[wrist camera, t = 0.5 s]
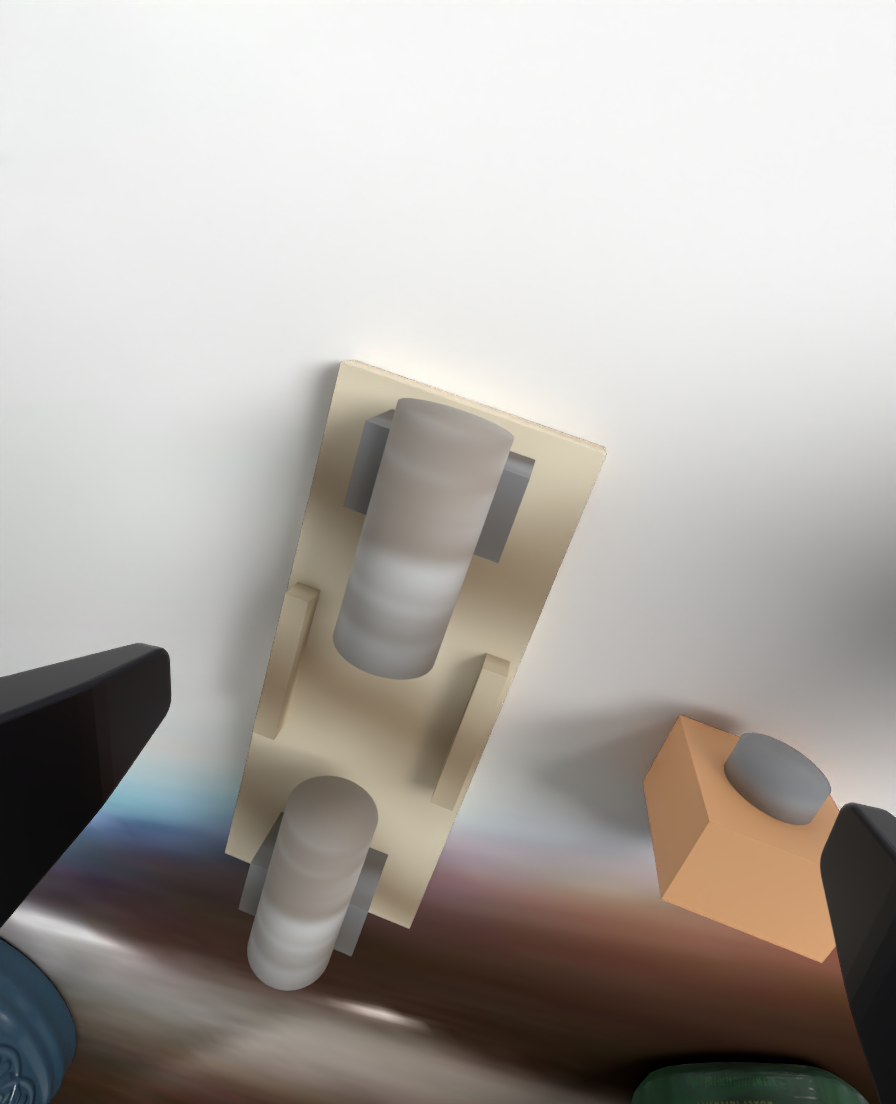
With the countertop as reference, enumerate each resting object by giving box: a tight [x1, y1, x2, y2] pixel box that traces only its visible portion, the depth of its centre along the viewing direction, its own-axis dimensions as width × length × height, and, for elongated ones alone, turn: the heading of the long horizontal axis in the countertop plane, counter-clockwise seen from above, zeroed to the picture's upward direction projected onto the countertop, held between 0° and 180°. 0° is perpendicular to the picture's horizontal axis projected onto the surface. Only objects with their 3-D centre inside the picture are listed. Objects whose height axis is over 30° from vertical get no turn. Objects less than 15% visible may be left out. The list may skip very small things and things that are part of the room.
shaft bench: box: [225, 360, 607, 990], centre depth 20 cm, size 20×8×5 cm, turn 162°
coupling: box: [643, 715, 839, 963], centre depth 19 cm, size 5×5×5 cm
